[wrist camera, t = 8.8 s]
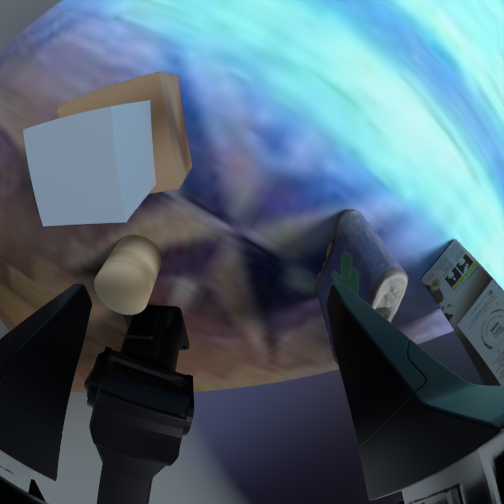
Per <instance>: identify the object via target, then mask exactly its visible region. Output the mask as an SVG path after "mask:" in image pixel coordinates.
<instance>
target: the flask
mask: <svg viewBox="0 0 504 504" xmlns="http://www.w3.org/2000/svg"><path fill="white" fill-rule="evenodd" d="M334 229H335V233H334V236H333V238H332V240H331V242H330V243H329V246H328V247H327V251H326V254H327V259H326V261H325V262H324V263H322V264H323V269H322V271H321V272H320V273H318V277H317V279H316V282H315V283H314V287H315V290H316V292H317V295H318V298H319V301H320V305H321V309H322V314H323V317H324V320H325V324H326V327H327V331H328V334H329V339H330V343H331V346H332V351H333V356H334V358H335V362H336V363H337V364H338V361H337V358H336V354H335V350H334V346H333V342H332V336H331V329H330V323H329V317H328V311H327V300H328V296H329V291H330V287H331V285H332V284H344V285H345V286H347V287H348V288H349V289H350V290H352V291H353V292H354V293H355V294H356V295H358V296H359V297H360V298H361V299H363V300H364V301H365V302H366V303H368V304H369V305H370V306H371V307H372V308H374V309H375V310H376V311H377V312H378V313H380V314H381V315H382V316H383V317H384V318H386V319H387V320H388V321H389V322H390V323H391V321H392V319H393V317H394V315H395V313H396V312H397V310H398V307H399V305H400V302H401V300H402V298H403V296H404V294H405V290H406V288H407V285H408V276H407V274H406V273H405V272H404V270H403V268H402V267H401V266H400V265H399V263H398V262H397V261H396V259H395V258H394V257H393V255H392V254H391V252H390V251H389V250H388V248H387V247H386V245H385V244H384V243H383V241H382V240H381V238H380V237H379V236H378V235H377V234H376V233H375V231H374V230H373V229H372V227H371V226H370V225H369V223H368V222H367V221H366V219H365V218H364V216H363V215H362V214H361V213H360V212H358V211H356V210H353V209H352V210H345V211H344V212H343V213H342V214H341V216H340V217H339V218H338V220H337V222H336V224H335V227H334Z"/></svg>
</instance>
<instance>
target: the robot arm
mask: <svg viewBox="0 0 504 504" xmlns="http://www.w3.org/2000/svg"><path fill="white" fill-rule="evenodd" d="M91 308H92V302H91V299H90V296H89V294H88V292H87V289H86V287H85V286H84V285H83V284H74V285H73V286H71V287H70V288H68V289H67V290H65V291H64V292H63V293H61V294H60V295H58V296H57V297H55V298H54V299H53V300H51V301H50V302H48V303H47V304H46V305H44V306H43V307H42V308H40V309H39V310H38V311H36V312H35V313H33V314H32V315H31V316H29V317H28V318H27V319H26V320H24V321H23V322H22V323H20V324H19V325H18V326H16V327H15V328H14V329H13V330H12V331H10V332H9V333H7V334H6V335H5V336H4V337H2V338H1V339H0V504H48V503H46V502H45V500H44V498H43V496H42V494H41V492H40V490H39V488H38V486H37V484H36V482H35V480H33V479H31V476H32V472H33V471H35V472H38V473H39V474H41V475H43V476H45V477H48V478H50V479H52V480H54V481H56V479H57V470H58V461H59V452H60V445H61V438H62V431H63V425H64V420H65V414H66V410H67V405H68V399H69V396H70V391H71V387H72V383H73V379H74V375H75V371H76V367H77V364H78V360H79V356H80V353H81V350H82V346H83V343H84V339H85V335H86V330H87V325H88V320H89V316H90V312H91ZM175 311H176V312H175ZM327 311H328V317H329V323H330V329H331V336H332V342H333V346H334V350H335V354H336V358H337V361H338V365H339V369H340V372H341V376H342V380H343V384H344V388H345V391H346V396H347V399H348V403H349V408H350V412H351V416H352V420H353V424H354V428H355V433H356V438H357V442H358V446H359V452H360V457H361V461H362V466H363V471H364V476H365V481H366V487H367V492H368V497H369V501H371V500H374V499H378V498H381V497H384V496H387V495H390V494H393V493H396V492H398V491H401V490H402V493H403V498H404V500H401V501H399V502H398V504H504V386H486V385H475V384H472V383H469V382H467V381H465V380H463V379H462V378H460V377H459V376H458V375H456V374H455V373H453V372H452V371H451V370H449V369H448V368H447V367H445V366H444V365H442V364H441V363H440V362H438V361H437V360H436V359H434V358H433V357H432V356H430V355H429V354H428V353H426V352H425V351H424V350H423V349H421V348H420V347H419V346H418V345H417V344H415V343H414V342H413V341H412V340H411V339H409V338H408V337H407V336H406V335H405V334H404V333H402V332H401V331H400V330H399V329H398V328H396V327H395V326H394V325H393V324H392V323H390V322H389V321H388V320H387V319H386V318H384V317H383V316H382V315H381V314H380V313H378V312H377V311H376V310H375V309H374V308H372V307H371V306H370V305H369V304H368V303H366V302H365V301H364V300H363V299H361V298H360V297H359V296H358V295H356V294H355V293H354V292H353V291H352V290H350V289H349V288H348V287H347V286H345V285H344V284H332V285H331V287H330V291H329V296H328V300H327ZM123 315H124V317H125V320H126V322H127V325H128V329H127V332H126V335H125V339H124V342H123V345H122V348H121V351H120V352H117V351H115V350H112V348H110V347H107V346H106V348H105V351H104V352H102V353H100V354H98V357H97V359H96V362H95V365H94V367H93V369H92V371H91V372H90V374H89V376H88V377H87V379H86V381H85V383H84V387H85V389H86V391H87V398H88V400H87V405H88V406H90V407H92V408H93V411H92V416H91V421H90V432H91V436H92V439H93V442H94V444H95V445H96V447H97V450H98V452H99V455H100V457H101V460H102V462H103V465H102V471H101V477H100V484H99V491H98V498H97V504H148V503H149V497H150V490H151V484H152V479H153V477H154V476H155V475H156V474H157V473H158V472H159V471H160V470H161V469H162V468H164V467H165V466H166V465H167V466H171V465H172V464H173V463H174V462H175V460H176V459H177V458H178V456H179V448H180V444H181V440H182V435H183V436H185V435H187V433H188V432H189V429H190V427H191V423H192V419H193V414H194V392H193V376H191V375H188V374H187V375H185V374H181V373H178V372H175V371H176V365H177V359H178V353H179V350H188V349H189V341H188V337H187V333H186V329H185V324H184V320H183V315H182V311H181V309H180V308H178V307H162V306H146V308H145V309H144V310H143V311H142V312H140V313H138V314H134V315H125V314H123Z"/></svg>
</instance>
